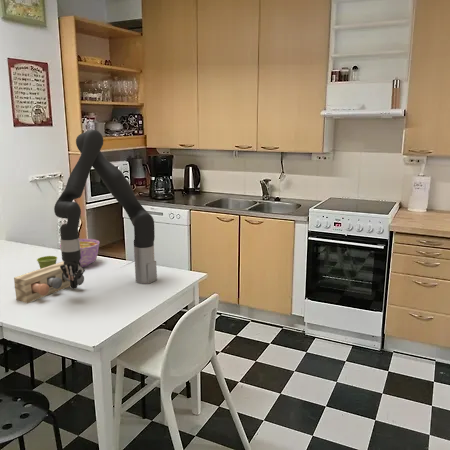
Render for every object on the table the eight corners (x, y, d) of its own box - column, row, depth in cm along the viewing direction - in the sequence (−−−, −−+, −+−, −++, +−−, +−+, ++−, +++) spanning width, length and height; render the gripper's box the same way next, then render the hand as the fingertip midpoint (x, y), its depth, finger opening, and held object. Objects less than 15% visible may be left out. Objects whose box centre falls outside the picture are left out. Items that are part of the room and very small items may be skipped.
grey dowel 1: (62, 286, 203) (61, 276, 202) (53, 290, 199) (52, 279, 198) (45, 282, 208) (44, 272, 207) (36, 285, 204) (35, 275, 203)
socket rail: (75, 284, 214) (73, 263, 212) (27, 303, 193) (24, 280, 190) (65, 281, 218) (63, 261, 216) (16, 299, 196) (13, 277, 194)
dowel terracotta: (49, 293, 196) (48, 282, 195) (40, 296, 192) (38, 286, 190) (32, 288, 201) (31, 278, 200) (23, 292, 197) (21, 281, 196)
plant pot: (34, 277, 224) (32, 260, 222) (48, 271, 232) (46, 254, 231) (49, 279, 221) (47, 262, 219) (62, 273, 229) (61, 256, 227)
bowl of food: (59, 261, 248) (58, 240, 245) (98, 257, 256) (96, 237, 253) (62, 272, 230) (60, 250, 227) (103, 267, 238) (102, 246, 235)
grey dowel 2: (84, 283, 207) (83, 273, 206) (76, 286, 203) (75, 276, 202) (67, 279, 213) (66, 269, 212) (59, 282, 209) (58, 272, 207)
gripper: (88, 248, 192) (91, 288, 196) (67, 244, 198) (70, 282, 202) (74, 253, 185) (78, 293, 189) (52, 248, 192) (56, 288, 196)
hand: (74, 288), depth 196 cm, fingers closed
